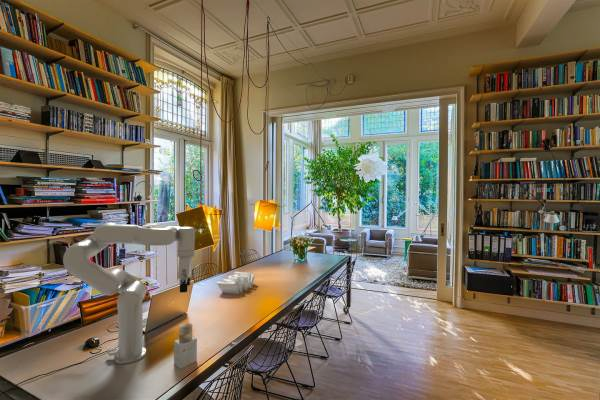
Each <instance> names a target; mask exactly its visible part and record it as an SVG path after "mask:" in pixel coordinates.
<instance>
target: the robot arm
mask: <svg viewBox="0 0 600 400" xmlns="http://www.w3.org/2000/svg"><path fill="white" fill-rule="evenodd" d="M195 239H196V229H195V227H193V226H175V225H174V226H173V225H167V226H165V227H163V228H148V227H143V226H140V225H138V224H118V223H115V222H106V223H102V224H99V225H98V226H96V227H95V228H94V231H93V233H91V234H89V236H87V237H86V238H84V239H83V240H81V241H79V242H75V243H73V244H72V245H70V246H69V247H68V248H67V249H66V250H65V252H64V254H63V257H62V258H63V259H62V260H63V261H62V263H63V266H64V268H65V270H66V271H67V272H68V273H69V274H70V275H72V276H73V277H74V278H76V279H78V280H80V281H82V282H83V283H85V284H86V285H88V286H89V287H91V288H93V289H95V290H96V291H98V292H99V293H100V294H102V295H105V296H113V295H114V294H116V293H118V294H119V295H118V297H117V301H116V306H117V315H118V316H117V317H118V318H117V320H118V323H117V324H118V325H117V326H118V327H117V328H118V330H117V331H118V336H117V337H118V343H117V346H118V347H115V348H108V349H107V350H106V351H107V352H106V353H107V354H108V356H109V357H110V356H114V357H113V361H114V363H116V364H120V365H125V364H132V363H134V362H138V361H140V360H141V359H143V358H144V357H145V356H146V355H147V349H146V348H145V347H143V337H144V336H143V333H144V332H143V331H144V329H143V326H144V325H143V323H144V322H143V319H144V318H143V317H144V315H143V300H144V298H145V297H146V294H147V286H146V285H145V283H144V282H143V281H141V280H140V279H139V278H137V277H135V276H134V275H133V274H131V273H129V272H127V271H125V270H123V269H121V268H112V269H110V270H109V269H107V268H105V267H103V266H102V265H100V264H98V263H96V262H94V261H91V260H90V259H91V258H93V257H95V256H96V255H97V254H99V253H100V252H101V251H103V250H104V249H105V248H107V247H108V246H109V245H110V244H116V245H118V244H121V245H125V244H126V245H127V244H128V245H129V244H130V245H131V244H132V245H133V244H134V245H139V246H140V245H141V246H142V245H143V246H169V245H172V244H173V243H174V242H177V253H176V254H177V258H178V267H177V268H178V269H177V279H180V283H179V293H187V292H188V286H190V285H191V273H192V261H193V260H192V259H193V257H195V242H196V241H195Z"/></svg>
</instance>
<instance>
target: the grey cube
mask: <svg viewBox="0 0 600 400" xmlns="http://www.w3.org/2000/svg"><path fill="white" fill-rule="evenodd" d="M192 336H193V323H190V322H185V323H181V324H180V325H178V339H179V342H182V343H185V342H189V341H191V340H192Z"/></svg>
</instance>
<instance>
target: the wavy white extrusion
mask: <svg viewBox="0 0 600 400" xmlns="http://www.w3.org/2000/svg"><path fill="white" fill-rule="evenodd" d="M227 277H228V278H225V279H224V278H223V279H222V281H217V282H216V285H217V287H219V289H220V290H221V292H222V294H227V295H240V294H242V293H243V292H245V291H247V290H249V289H250V287H251V288H252V287H253V286H254V281H255V275H254V274H253V273H250V272H241V271H234V272H233V275H228V276H227ZM243 290H244V291H243Z"/></svg>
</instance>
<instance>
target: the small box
mask: <svg viewBox="0 0 600 400" xmlns="http://www.w3.org/2000/svg"><path fill="white" fill-rule="evenodd" d="M197 344H198V338H197V337H195V336H194V335H192V340H191V341H189V342H185V343H182V342H179V338H178V339H175V340H174V341H173V364H174V365H175V367H177V368H178V369H180V370H181V369H184V368H185V367H187V366H190V365H191V364H193V363H195V362H197V359H198V351H197V350H198V345H197Z"/></svg>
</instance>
